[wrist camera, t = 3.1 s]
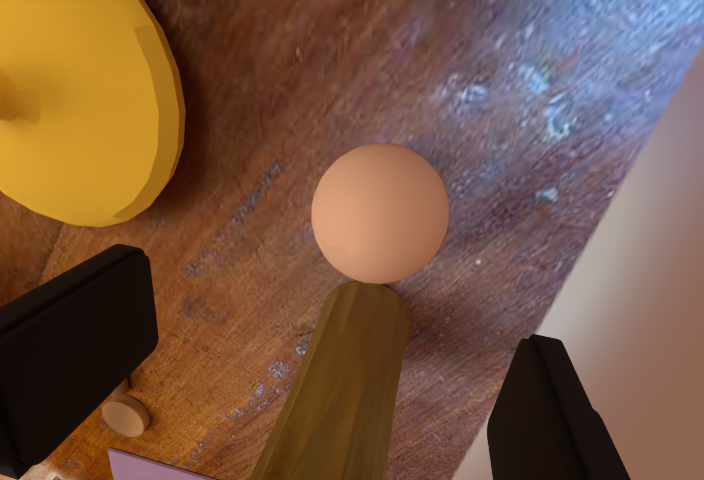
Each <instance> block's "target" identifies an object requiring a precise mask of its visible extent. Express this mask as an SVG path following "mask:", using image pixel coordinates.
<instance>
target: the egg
mask: <svg viewBox="0 0 704 480" xmlns="http://www.w3.org/2000/svg"><path fill="white" fill-rule="evenodd" d="M448 221H449V204H448V195H447V192H446V189H445V186H444V183H443V181H442V179H441V178H440V176H439V175H438V173H437V171H436V170H435V169H434V168H433V167H432V166H431V165H430V164H429V163H428V162H427V161H426V159H425V158H424V157H422V156H420V155H419V154H417V153H415V152H414V151H412V150H410V149H408V148H406V147H402V146H398V145H395V144H368V145H363V146H361V147H358V148H355V149H353V150H351V151H350V152H348V153H346V154H345V155H343V156H342V157H340V158H338V159H337V160H336V161H335V162H334V163H333V164H332V165H331V166H330V168H329V169H328V170H327V171H326V173H325V174H324V175H323V177H322V178H321V180H320V182H319V184H318V186H317V189H316V191H315V194H314V198H313V202H312V217H311V222H312V227H313V231H314V235H315V239H316V241H317V243H318V245H319V247H320V249H321V251H322V253H323V254H324V256H325V257H326V259H327V260H328V261H329V262H330V263H331V264H332V265H333V267H334V268H336V269H337V270H339V271H340V272H341V273H343V274H344V275H346V276H348V277H350V278H352V279H354V280H357V281H361V282H364V283H373V284H384V283H391V282H395V281H398V280H401V279H404V278H407V277H409V276H411V275H413V274H414V273H416V272H418V271H419V270H421V269H422V268H423V267H424V266H426V265H427V264H428V263H429V262H430V261H431V259H432V258H433V257H434V255H435V254H436V252H437V251H438V249H439V248H440V246H441V244H442V242H443V240H444V238H445V234H446V231H447V228H448Z"/></svg>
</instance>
